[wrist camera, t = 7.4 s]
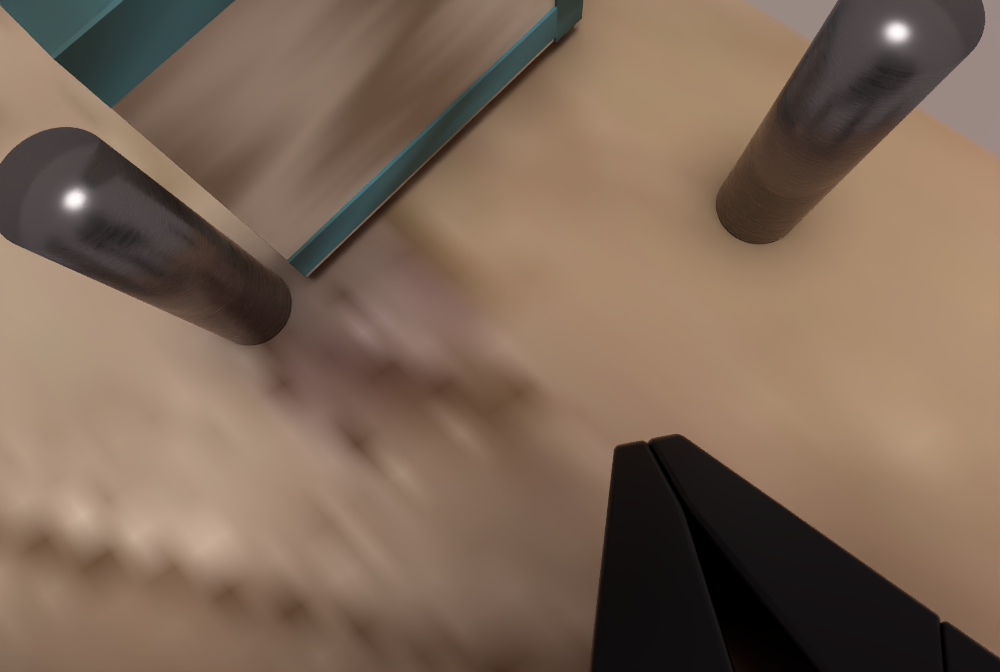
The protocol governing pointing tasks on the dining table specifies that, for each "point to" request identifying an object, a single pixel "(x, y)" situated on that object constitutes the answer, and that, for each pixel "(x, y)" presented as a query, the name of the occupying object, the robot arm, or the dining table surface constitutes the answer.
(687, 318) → the dining table surface
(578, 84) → the dining table surface
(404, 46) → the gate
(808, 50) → the gate posts
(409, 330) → the dining table surface
